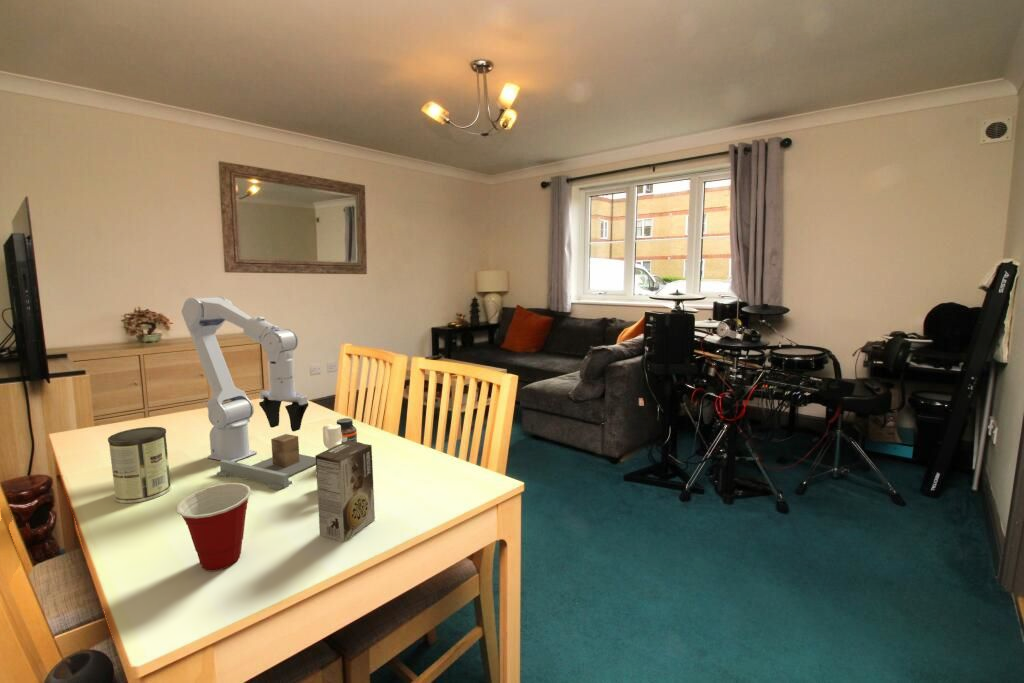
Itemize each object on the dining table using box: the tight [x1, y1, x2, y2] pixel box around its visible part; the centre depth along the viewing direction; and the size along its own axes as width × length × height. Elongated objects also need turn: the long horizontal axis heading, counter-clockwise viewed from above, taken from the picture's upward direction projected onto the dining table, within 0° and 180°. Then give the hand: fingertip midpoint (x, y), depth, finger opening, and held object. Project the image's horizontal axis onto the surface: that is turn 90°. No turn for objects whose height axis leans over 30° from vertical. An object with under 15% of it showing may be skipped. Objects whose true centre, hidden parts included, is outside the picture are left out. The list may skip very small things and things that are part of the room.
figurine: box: [314, 423, 342, 476], centre depth 111 cm, size 7×9×15 cm
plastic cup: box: [176, 482, 252, 572], centre depth 82 cm, size 11×11×12 cm
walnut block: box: [271, 433, 300, 468], centre depth 125 cm, size 4×4×7 cm
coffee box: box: [314, 441, 376, 542], centre depth 94 cm, size 9×6×16 cm
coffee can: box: [107, 426, 172, 504], centre depth 108 cm, size 10×10×14 cm
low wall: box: [216, 460, 293, 491], centre depth 117 cm, size 22×4×3 cm, turn 67°
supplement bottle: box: [336, 417, 358, 443], centre depth 128 cm, size 6×6×11 cm
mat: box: [251, 453, 316, 479], centre depth 126 cm, size 14×12×1 cm
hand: (285, 428), depth 125 cm, fingers open, 7 cm apart
